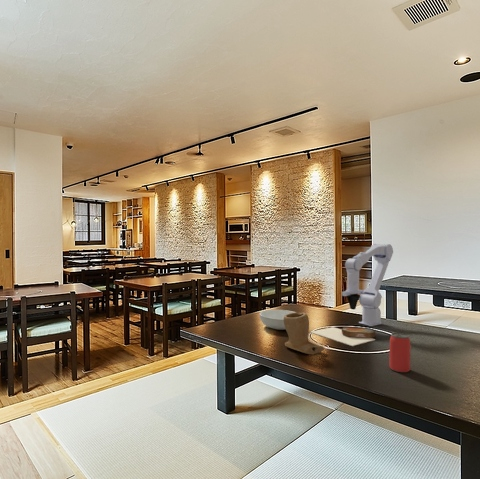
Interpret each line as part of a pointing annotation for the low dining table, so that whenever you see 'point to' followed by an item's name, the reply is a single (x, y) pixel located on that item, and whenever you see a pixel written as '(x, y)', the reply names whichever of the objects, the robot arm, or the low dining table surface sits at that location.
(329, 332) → the mat
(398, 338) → the beer can
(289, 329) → the tan boot-shaped piece
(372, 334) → the tin
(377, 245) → the robot arm
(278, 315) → the serving bowl
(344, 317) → the low dining table surface
